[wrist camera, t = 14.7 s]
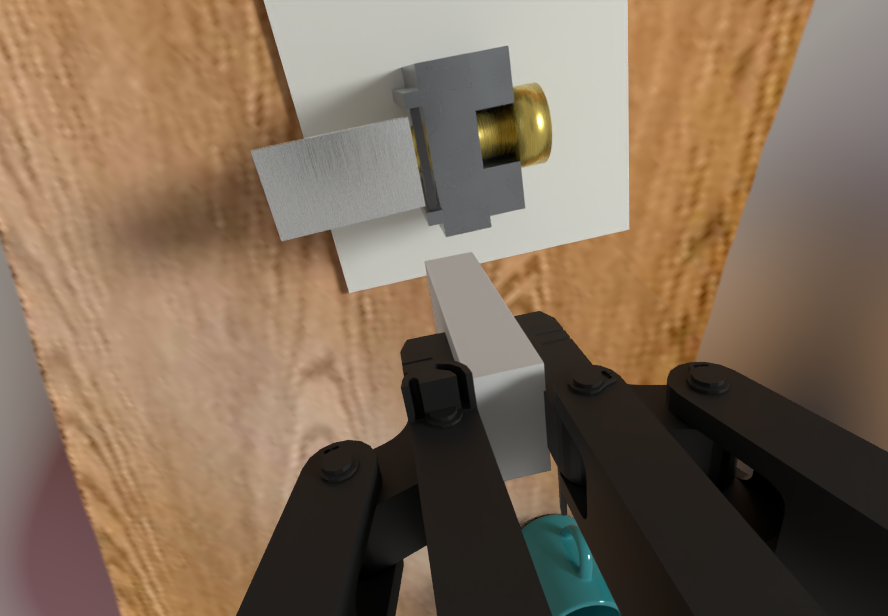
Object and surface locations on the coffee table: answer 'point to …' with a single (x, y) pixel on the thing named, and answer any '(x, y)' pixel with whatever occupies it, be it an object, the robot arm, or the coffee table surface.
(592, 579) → the cup
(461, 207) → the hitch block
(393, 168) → the grey flat brushed plate
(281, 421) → the coffee table surface
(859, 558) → the robot arm
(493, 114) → the pin
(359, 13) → the mat
